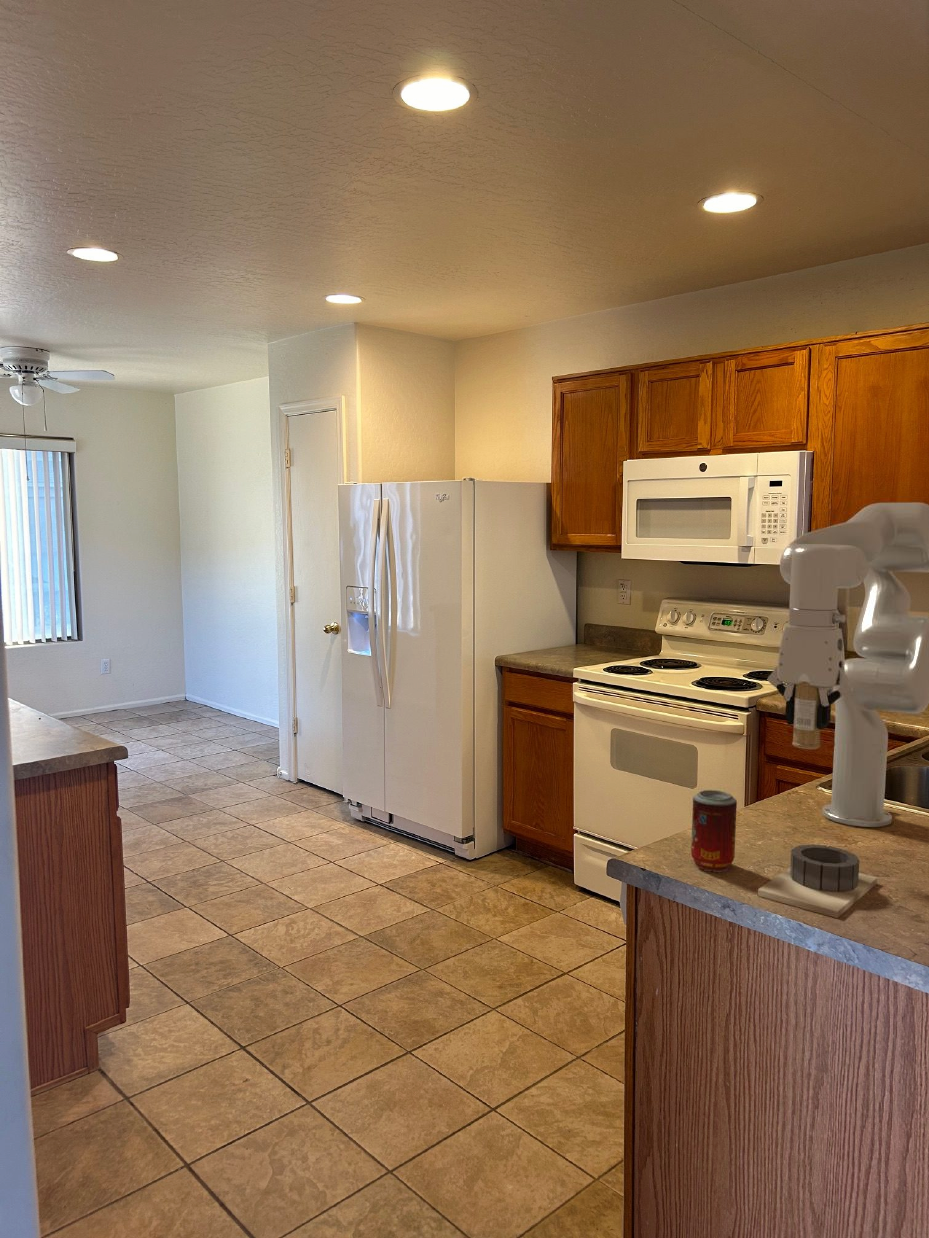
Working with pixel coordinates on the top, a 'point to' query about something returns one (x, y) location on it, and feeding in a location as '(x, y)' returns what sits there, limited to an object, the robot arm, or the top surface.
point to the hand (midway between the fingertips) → (807, 724)
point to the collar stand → (820, 880)
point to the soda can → (713, 830)
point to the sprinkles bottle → (806, 715)
